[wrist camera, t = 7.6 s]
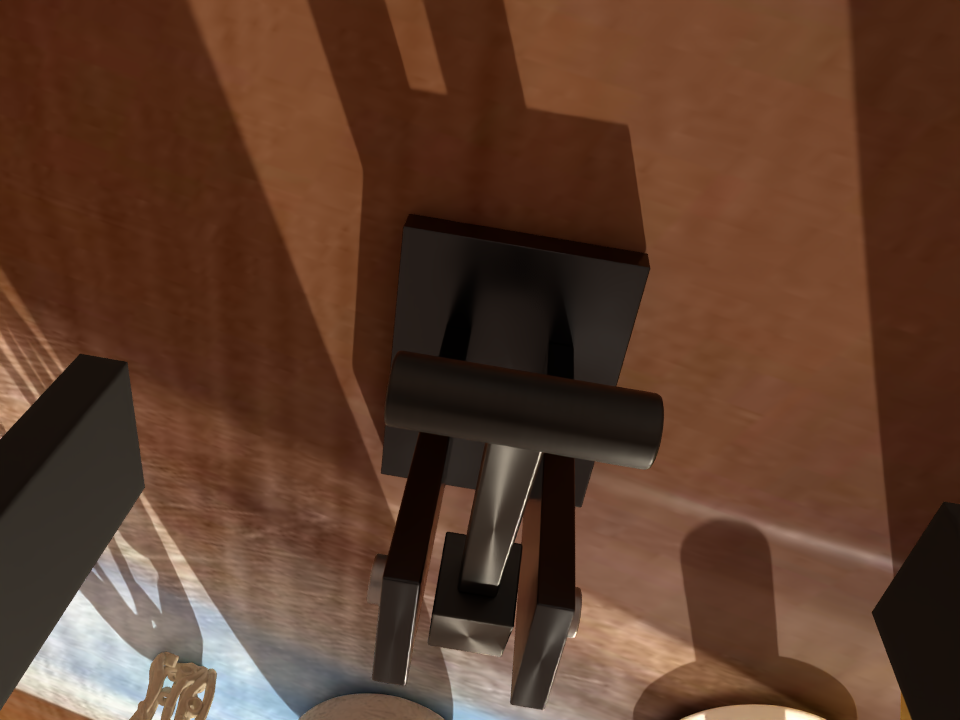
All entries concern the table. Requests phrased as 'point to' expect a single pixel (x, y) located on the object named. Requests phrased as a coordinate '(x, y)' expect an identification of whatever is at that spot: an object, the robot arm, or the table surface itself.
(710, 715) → the candle holder
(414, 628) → the bracket
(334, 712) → the planter
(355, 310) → the table surface
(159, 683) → the bracelet
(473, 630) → the lever
